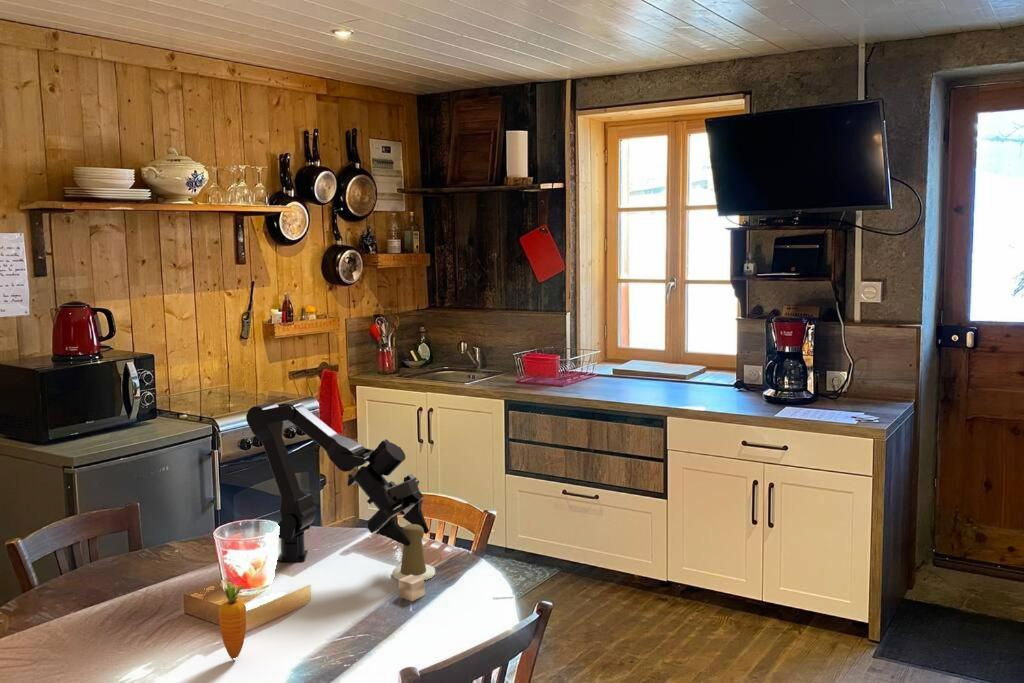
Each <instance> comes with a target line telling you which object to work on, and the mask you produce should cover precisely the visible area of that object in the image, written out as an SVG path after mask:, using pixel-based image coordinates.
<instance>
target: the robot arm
mask: <svg viewBox="0 0 1024 683" xmlns="http://www.w3.org/2000/svg"><path fill="white" fill-rule="evenodd" d="M245 417H246V422H247V425H248V427H249V428H250V430H251V432H252V434H253V435H254V436H255V437H256V438H257V439H258V440H259V441H260V442H261V443H262V446H263V448H264V452H265V454H266V458H267V460H268V463H269V466H270V469H271V472H272V475H273V477H274V480H275V484H276V487H277V489H278V492H279V494H280V504H279V515H280V521H279V522H278V523H277V524H278V525H279V526H280V535H279V538H278V539H280V554H279V556H278V558H277V562H278V563H285V562H305V561H306V558H307V556H308V553H309V551H308V549H305V547H306V546H305V532H306V531H307V530H310V528H311V526H312V525H311V524H312V523H314V521H315V519H316V517H317V512H316V510H317V509H318V508H317V506H316V504H315V503H314V498H313V495H312V494H311V493H309V494H307V495H306V494H305V493H304V491H302V490H301V488H300V485H299V482H298V480H297V476H296V473H295V471H294V468H293V464H292V461H291V459H290V456H289V452H288V450H287V446H286V445H285V444H286V443H285V441H284V438H283V427H284V422H285V421H289V423H290V422H291V423H292V424H293V425H294V426H295V427H297V428H298V429H299V430H301V431H302V433H304V435H307V437H309V438H310V439H311V440H312V441H314V442H315V443H317V445H319V446H320V447H321V448H323V450H324V452H326V453H327V457H328V458H329V461H330V462H332V463H333V464H334V466H335V467H336V468H337V469H338V470H339V471H340V472H344V473H345V472H350V471H353V470H355V469H357V468H358V467H360V468H358V469H357V470H356V471H355V472H352V473H349V474H348V475H347V476H348V478H347V479H348V480H347V486H348V487H350V486H353V485H355V484H357V485H358V487H359V488H360V489H361V490H362V491H363V493H364V494H365V495H366V496H367V498H368V499H367V500H366V502H367V503H368V504H369V505H371V504H373V505H374V506H375V507H376V509H377V511H376V512H375V513H374V514H373V515H372V516H371V517H370V518H369V519H368V520H367V521H366V528H367V530H368V531H369V533H370V534H374V533H375V534H376V535H380V536H383V537H385V538H388V539H391V540H393V541H395V542H397V543H399V544H402V545H403V546H404V545H406V546H409V545H410V544H411V542H410V541H409V539H408V537H407V536H406V534H405V533H404V531H403V530H402V529H403V528H402V527H401V525H399V517H398V514H401V515H403V516H402V518H403V519H404V520H405V521H407V522H409V524H417V525H420V526H422V528H423V530H424V535H426V534H428V533H429V532H430V529H429V527H428V525H427V522H426V519H425V517H424V514H423V510H422V506H423V505H422V504H423V503H424V499H423V498H424V497H425V496H424V495H423V493H422V492H421V491H420V489H419V485H420V484H419V483H420V480H419V479H418V478H417V477H416V476H415V475H414V474H408V475H406V476H404V477H403V481H402V482H401V483H398V484H397V483H395V482H394V481H392V480H391V481H389V482H388V480H387V479H386V478H385V477H384V476H387V477H388V476H390V475H391V474H392V473H394V471H395V470H396V469H397V468H398V467H399V466H400V465H401V464H402V463H403V462H404V461H405V460H406V454H405V451H404V450H403V449H402V447H401V446H398V445H397V444H395V443H393V442H390V441H389V440H388V439H387V438H386V439H384V440H382V441H381V442H380V443H379V444H378V446H377V447H376V448H375V449H370V448H366V447H364V445H362V443H359V442H358V441H356V440H354V439H352V438H350V437H347V436H343V435H340V434H339V433H338V432H336V431H335V430H334V429H333V428H331V427H330V426H328V424H326V423H325V422H323V421H322V420H321V419H320V418H318V416H316V415H315V414H314V413H312V412H311V411H310V410H308V409H307V408H306V407H305V405H304V404H303V403H302V402H300V401H293V402H287V403H280V404H279V403H278V404H276V403H275V402H272V401H269V402H264V403H261V404H257V405H254V406H252V407H250V408H249V409H248V410H247V413H246V415H245ZM367 463H368V464H367ZM365 464H367V465H366V466H365Z"/></svg>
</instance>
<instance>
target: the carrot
mask: <svg viewBox="0 0 1024 683" xmlns="http://www.w3.org/2000/svg"><path fill="white" fill-rule="evenodd" d="M244 587H245V586H244V585H242V584H241V585H240V586H238V587H237V585H235V584H233V585H232V582H231V581H230V582H228V583H227V584H226V587H225V588H224V594H225V596H226V599H227V600H226V601H224V602H223V603H221V604H220V605H219V607H218V617H219V628H220V634H221V637H222V642H223V645H224V648H225V650H226V652H227V655H228V656H229V658H230V659H231V658H236V657H238V658H239V655H240V654H241V651H242V649H243V646H244V642H245V637H246V632H247V608H246V604H245V602H244V601H242V600H240V599H238V598H239V595H238V594H239V593H240V591H242V589H243V588H244Z"/></svg>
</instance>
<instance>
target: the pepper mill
mask: <svg viewBox="0 0 1024 683" xmlns="http://www.w3.org/2000/svg"><path fill="white" fill-rule="evenodd" d="M401 529H402V530H403V531H404V533H405V534H406V536H407V537H408V539H409V541H410V542H411V544H410V545H409V546H406V545H404V544H403V546H402V547H403V549H402V556H401V564H400V566H401V573H402V574H403V575H408V576H409V575H415V576H416V575H421V574H424V573H425V572H426V565H425V564H426V559H425V552H424V546H423V538H424V535H425V533H424V530H423V528H422V526H420V525H417V524H411V523H409V524H407V525H405V526H403V528H401Z"/></svg>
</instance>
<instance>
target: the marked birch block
mask: <svg viewBox="0 0 1024 683" xmlns="http://www.w3.org/2000/svg"><path fill="white" fill-rule="evenodd" d="M425 594H426V593H425V581H424V578H421V577H418V576H415V575H409V576H406V577H404V578H402V579H399V581H398V598H401V599H403V600H407V601H410V602H414V601H415V600H419V599H420V598H422V597H424V596H425Z"/></svg>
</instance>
